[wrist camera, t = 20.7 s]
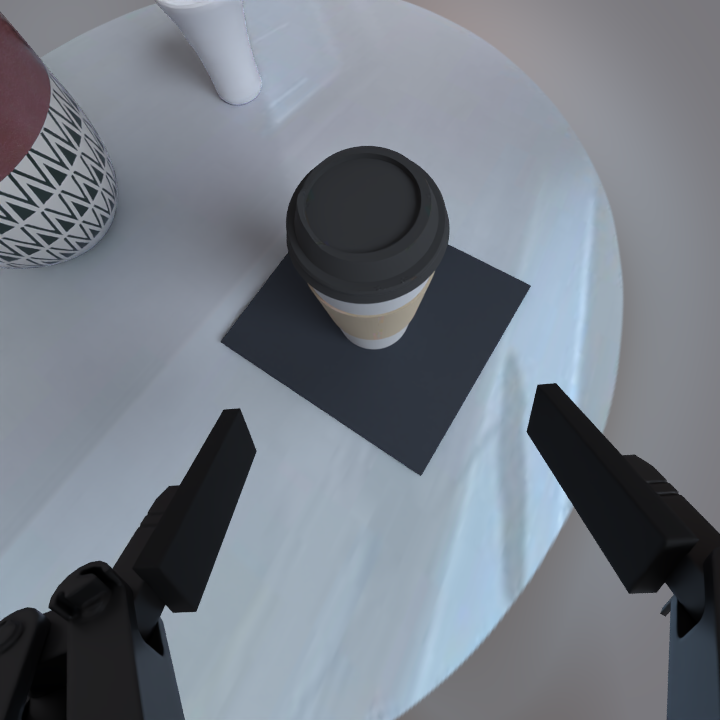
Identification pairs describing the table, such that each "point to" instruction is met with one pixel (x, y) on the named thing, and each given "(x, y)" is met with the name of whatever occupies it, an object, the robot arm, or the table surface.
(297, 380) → the mat
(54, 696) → the robot arm
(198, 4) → the cup
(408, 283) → the coffee cup
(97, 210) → the planter
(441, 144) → the table surface
